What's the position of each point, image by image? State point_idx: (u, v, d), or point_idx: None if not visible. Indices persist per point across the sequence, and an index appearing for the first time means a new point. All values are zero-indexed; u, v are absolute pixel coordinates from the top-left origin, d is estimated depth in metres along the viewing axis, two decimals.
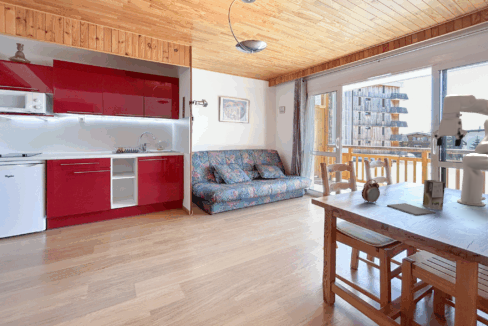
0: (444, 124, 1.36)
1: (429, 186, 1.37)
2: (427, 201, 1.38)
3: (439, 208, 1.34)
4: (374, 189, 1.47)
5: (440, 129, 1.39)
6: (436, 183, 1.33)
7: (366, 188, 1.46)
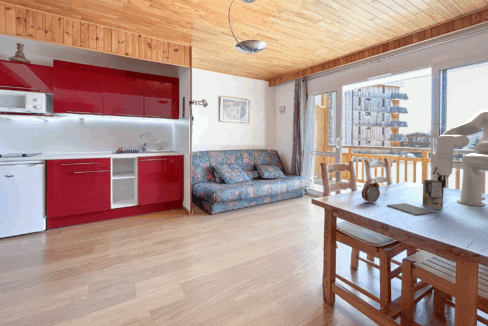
0: (446, 163, 1.35)
1: (428, 186, 1.37)
2: (427, 201, 1.38)
3: (439, 208, 1.34)
4: (374, 189, 1.47)
5: (442, 168, 1.35)
6: (435, 183, 1.33)
7: (366, 188, 1.46)
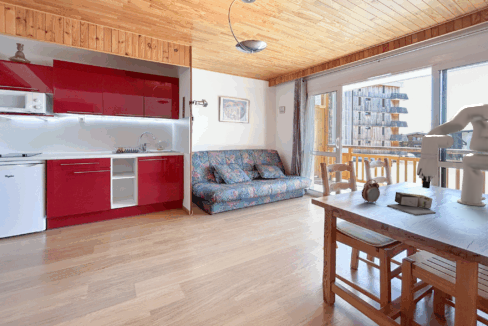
0: (430, 164, 1.32)
1: None
2: None
3: (430, 201, 1.35)
4: (374, 189, 1.47)
5: (426, 169, 1.32)
6: (402, 201, 1.38)
7: (366, 188, 1.46)
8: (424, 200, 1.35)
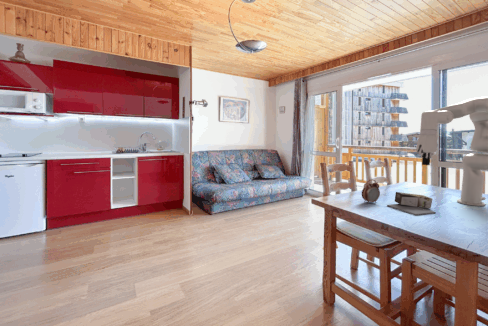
0: (430, 140, 1.30)
1: None
2: None
3: (430, 201, 1.35)
4: (374, 189, 1.47)
5: (426, 145, 1.30)
6: (402, 201, 1.38)
7: (366, 188, 1.46)
8: (424, 200, 1.35)
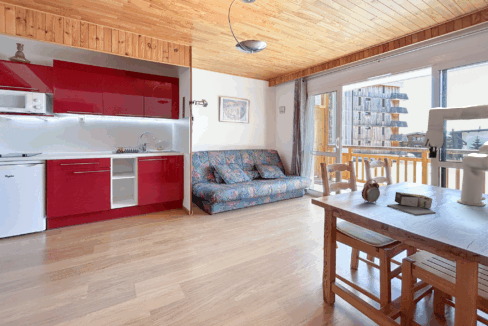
0: (437, 135, 1.41)
1: None
2: None
3: (430, 201, 1.35)
4: (374, 189, 1.47)
5: (433, 139, 1.41)
6: (402, 201, 1.38)
7: (366, 188, 1.46)
8: (424, 200, 1.35)
